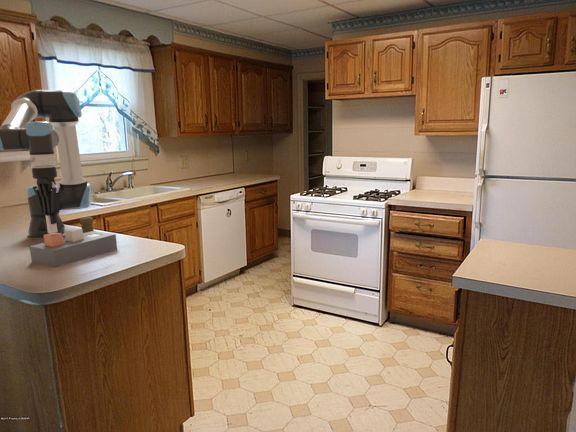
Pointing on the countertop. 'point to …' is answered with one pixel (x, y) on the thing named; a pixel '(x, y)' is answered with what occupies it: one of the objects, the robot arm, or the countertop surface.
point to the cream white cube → (73, 234)
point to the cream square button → (92, 235)
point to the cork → (86, 224)
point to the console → (73, 249)
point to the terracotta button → (53, 239)
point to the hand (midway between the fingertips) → (52, 232)
